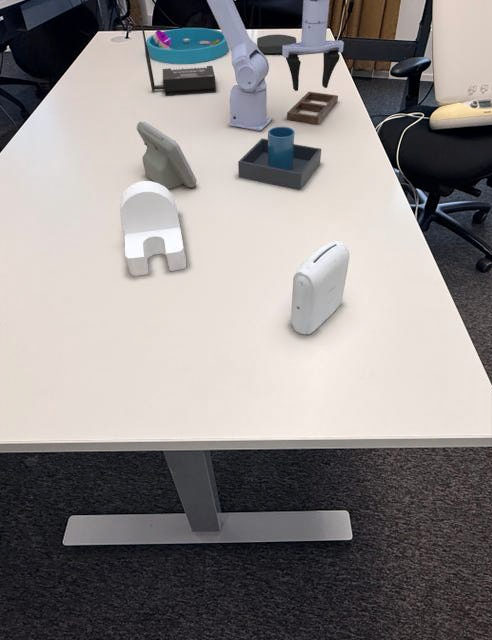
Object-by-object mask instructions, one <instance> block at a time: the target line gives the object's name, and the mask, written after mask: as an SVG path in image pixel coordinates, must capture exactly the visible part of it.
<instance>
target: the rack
mask: <svg viewBox="0 0 492 640" xmlns="http://www.w3.org/2000/svg"><path fill="white" fill-rule="evenodd" d="M338 100H339V95H338V94H337V95H336V94H331V93H322V92H315V91H308V92H307V93H306V94H305V95H304V96H303V97H301V99H299V100H298V102H296V103H295V105H293V106H292V107H291V108H290V109H289V110H288V111H287V112H286V120H289V121H294V122H300V123H305V124H306V123H307V124H312V125H319V124H320V123H321V122H322V121H323V119H324V118H325V117H326V116H327V115H328V113H330V112H331V110H332V109H333V108H334V107H335V106H336V104H337V103H338ZM309 101H317V102H325V103H326V104H322V103H314V102H309ZM301 110H303V111H308V112H314V113H315V112H316V113H317V114H315V115H314V114H310V113H309V114H308V113H301V112H300V111H301Z"/></svg>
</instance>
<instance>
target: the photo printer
mask: <svg viewBox="0 0 492 640" xmlns="http://www.w3.org/2000/svg"><path fill="white" fill-rule="evenodd" d="M350 255H351V254H350V251H349V249H348V246H347V245H346V244H345V243H343V242H340V241H339V240H334V241H329V242H328V243H326V244H323V245H322V246H320V247H319V248H317V249H316V250H314V251H313V252H312V253H311V254H310V255H309V256H308V257H307V258H305V260H304V261H303V262H302V263H301V264H300V265H299V267H298V268H297V270H296V271H295V273H294V275H293V278H292V293H291V310H290V311H291V313H290V324H291V326H292V328H293V331H295V332H297V333H298V334H301V335H304V336H305V335H310V334H312V333H314V332H315V331H316V330H317V329H318V328H319V327H320V326H322V325H323V324H324V322H326V321H327V320H328V319H329V318H330V317H331V316H332V315H333V314H334V313H335V311H337V309H338V308H339V307H340V306H341V304H342V301H343V296H344V292H345V285H346V280H347V274H348V269H349V262H350Z"/></svg>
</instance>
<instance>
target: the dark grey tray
mask: <svg viewBox="0 0 492 640" xmlns="http://www.w3.org/2000/svg"><path fill="white" fill-rule="evenodd" d="M321 158H322V148H318V147H313V146H308V145H303V144H302V145H301V144H297V143H294V153H293V169H292V170H291V171H289V170H284V169H279V168H274V167H269V166H268V138H261V139H260V140H259V141H257V142H256V144H254V145H253V146H252V147H251V148H250V149H249V151H247V152H246V153H245V154H244V155H243V156H242V157H241V158H240V159H239V160H238V161H237V165H238V166H237V167H238V178H240V179H241V178H242V179H246V180H251V181H255V182H261V183H265V184H271V185H275V186H279V187H284V188H289V189H294V190H299V191H301V190H302V189H303V188H304V186H305V185H306V183H307V182H308V181H309V180H310V178H311V177H312V175H313V174H314V173H315V172H316V171H317V169H318V168H319V166H320V165H321Z"/></svg>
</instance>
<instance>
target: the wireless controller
mask: <svg viewBox="0 0 492 640" xmlns="http://www.w3.org/2000/svg"><path fill="white" fill-rule="evenodd" d="M141 33H142V38H143V43H144V52H145V59H146V65H147V66H146V67H147V72H148V77H149V82H150V88H151V91H152V92H155V91H158V90H163V91H164V95H165V97H168V96H169V97H171V96H183V95H184V96H186V95H196V94H197V95H199V94H211V93H212V94H213V93H217V85H216V76H215V72H214V71H215V70H214V67H213V65H207V66H206V67H199V66H198V67H194V68H193V67H192V68H183V67H182V68H181V69H180V67H179V69H177V68H176V69H172V68H169V67H168V68H162V82H163V84H158V85H155V79H154V73H153V68H152V62H151V57H150V56H149V52H148V48H147V43H146V41H147V38H146V32H145V28H144V24H141Z"/></svg>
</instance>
